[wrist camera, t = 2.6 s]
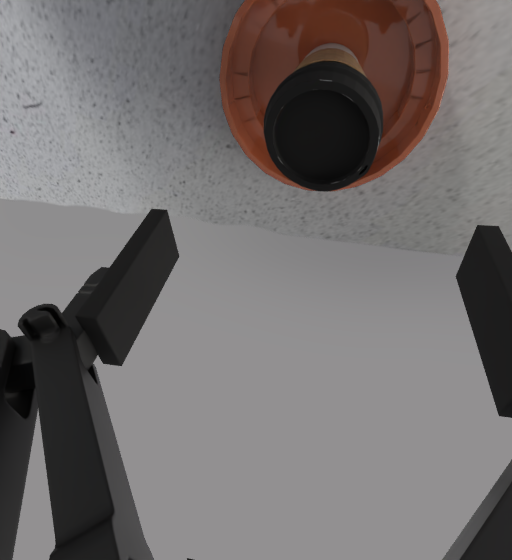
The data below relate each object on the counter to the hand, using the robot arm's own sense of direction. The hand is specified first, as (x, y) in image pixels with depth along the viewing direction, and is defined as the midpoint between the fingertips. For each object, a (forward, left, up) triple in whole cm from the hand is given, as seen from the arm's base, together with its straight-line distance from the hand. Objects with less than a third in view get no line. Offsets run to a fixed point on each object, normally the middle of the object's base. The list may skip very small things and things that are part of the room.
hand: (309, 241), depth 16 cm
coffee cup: (0, 0, -27) cm, 27 cm away
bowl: (0, 0, -27) cm, 27 cm away
